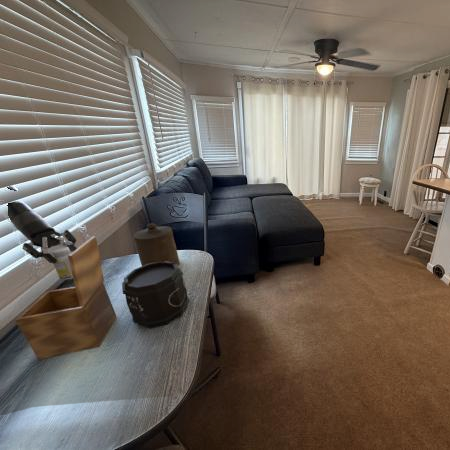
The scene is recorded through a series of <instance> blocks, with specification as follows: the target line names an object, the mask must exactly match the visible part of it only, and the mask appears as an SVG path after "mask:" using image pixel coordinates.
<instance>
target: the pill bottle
mask: <svg viewBox="0 0 450 450" xmlns="http://www.w3.org/2000/svg"><path fill="white" fill-rule="evenodd" d="M71 253H72V252H71V251H70V250H69V248H68V247H65V246H60V247H58V248H55V249H53V250H52V251H51V255H52V256H53V257H54V258H55V259H56V260H57V262H56V263H54V264H53V266H54V269H55V271H56V273H57V275H58V278H59V279H60V280H61V281H62V280H63V281H65V280H66V281H67V280H72V278H73V275H72V271H71V267H70V263H69V258H68V255H69V254H71Z"/></svg>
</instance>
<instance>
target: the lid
mask: <svg viewBox="0 0 450 450" xmlns="http://www.w3.org/2000/svg"><path fill="white" fill-rule="evenodd" d="M76 248H77V249H76V250H75V251H73V252H71V254H69V255H68V258H69V263H70V267H71V271H72V275H73V280H72V281H73V283H74V287H75V288H76V292H77V297H78V301H79V305H80V307H81V306H84V305H85V304H86V302H87V301H88V300H89V299H90V298H91V296H92V295H93V294H94V293H95V291H96V290H97V289H98V288H99V286H100V285H101V284H102V283H104V282H105V278H104V272H103V267H102V262H101V261H102V260H101V257H100V250H99V246H98V241H97V236H96V235H92V236H91V237H90V238H89V239H87V240H86V241H85V242H83V243H82V244H81V245H79V246H78V247H76Z"/></svg>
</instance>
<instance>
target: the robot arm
mask: <svg viewBox="0 0 450 450" xmlns="http://www.w3.org/2000/svg"><path fill="white" fill-rule="evenodd" d="M15 186H16V185H15ZM15 186H9V187H7V188H8V189H10V190H14V191H18V189H17V188H16V187H15ZM7 203H8V205H7V206H8V216H9V218H10V220H11V221H10V220H9V221H10V222H11V224H13V226H14V227H15V229H16V230H17V231H18V232H20V233H21V234H22V235H23V236H24V237H25V239H27V240H28V241H29V242H24V243H23V244H22V250H23V251H25V252H26V253H27V254H29V256H31V257H33V258H34V259H39V258H44V259H45V260H46V261H47V262H48V263H50V264H53V265H54V263H56V262H57V260H56V259H55V258H54V255H53V254H52V253H50V252H49V250H48V249H50V248H52V247H56V246H60V247H68V248H69V250H70V251H69V252H71V253H72V252H73V251H75V250H76V249H77V248H78V247H77V246H75V245H76V243H77V238H76V237H75V236H74V235H73V234H72V233H71V231H69V230H68V229H65V230H64V231H62V232H61V231H60V232H59V231H56V230H55V228H54V227H53V226H52V225H51V224H49V222H47V220H45V219H44V218H43V217H42V216H41V215H40V214H38V213H37V212H36V211H35V210H34V209H32V207H31V206H29V204H27V203H26V202H24V201H22V200H21V201H20V200H17V201H16V200H15V201H9V202H7ZM34 246H35V247H39V248H40V251H39V250H37V249H36V248H34Z"/></svg>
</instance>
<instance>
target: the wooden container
mask: <svg viewBox="0 0 450 450" xmlns="http://www.w3.org/2000/svg"><path fill="white" fill-rule="evenodd" d="M133 239H134V243H135V246H136V249H137V254H138V258H139V261H140V265H141V266H144V265H146V264H149V263H155V262H161V261H163V262H165V261H167V262H173V263H175V264H176V265H179V266H180V265H181V263H180V258H179V253H178V249H177V246H176V242H175V238H174V233H173V230H172V228H171V226H167V225H158V226H157V224H155V223H153V222H151V223H149V224H147V225H146V228H144V229H141V230H139V231H137V232H135V233H134V234H133Z"/></svg>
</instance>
